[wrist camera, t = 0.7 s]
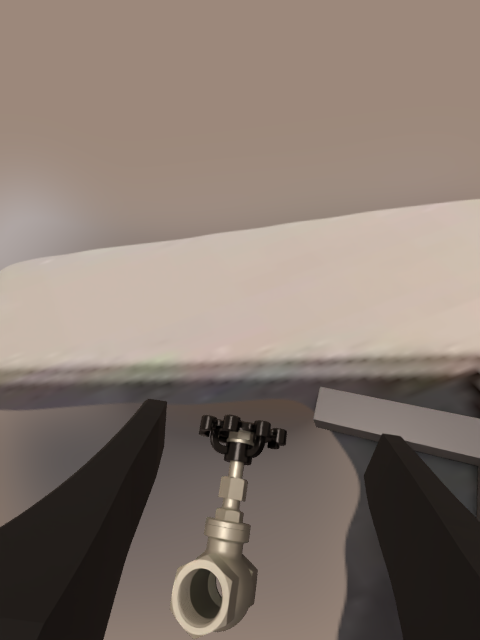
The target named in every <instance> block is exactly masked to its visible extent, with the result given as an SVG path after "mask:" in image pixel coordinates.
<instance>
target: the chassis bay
mask: <svg viewBox="0 0 480 640" xmlns="http://www.w3.org/2000/svg"><path fill="white" fill-rule="evenodd" d="M314 422H315V425H316V427H318V428H323V429H327V430H331V431H335V432H339V433H343V434H347V435H352V436H356V437H360V438H364V439H368V440H372V441H376V442H379V440H380V437H381V435H382V433H384V434H391V435H397V436H401V437H402V438H403V439H404V440H405V441H406V442H407V444H408V445H409V446H410V447H411V448H412V449H413V450H414V451H418V452H422V453H426V454H430V455H434V456H438V457H443V458H447V459H451V460H455V461H459V462H463V463H467V464H472V465H476V466H478V497H477V520H478V521H479V522H480V419H478V418H473V417H468V416H463V415H458V414H453V413H448V412H443V411H438V410H433V409H428V408H423V407H418V406H413V405H408V404H403V403H398V402H393V401H388V400H383V399H378V398H374V397H369V396H364V395H359V394H354V393H349V392H344V391H339V390H334V389H329V388H324V387H320V390H319V395H318V400H317V404H316V409H315V414H314Z"/></svg>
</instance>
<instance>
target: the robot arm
mask: <svg viewBox="0 0 480 640" xmlns="http://www.w3.org/2000/svg"><path fill="white" fill-rule="evenodd" d="M166 408H167V402H166V401H160V400H153V399H148V400H146V401H145V402H144V403H143V404H142V406H141V407H140V408H139V409H138V411H137V412H136V413H135V414H134V415H133V417H132V418H131V419H130V420H129V421H128V422H127V423H126V424H125V425H124V427H123V428H122V429H121V430H120V431H119V432H118V433H117V434H116V435H115V436H114V437H113V438H112V439H111V440H110V441H109V442H108V443H107V444H106V445H105V446H104V447H103V448H102V449H101V450H100V451H99V452H98V453H97V454H96V455H95V456H94V457H92V458H91V459H90V460H89V461H88V462H87V463H86V464H85V465H84V466H83V467H81V468H80V469H79V470H78V471H77V472H76V473H74V475H72V476H71V477H70V478H68V479H67V480H66V481H65V482H64V483H62V484H61V485H60V486H59V487H57V488H56V489H55V490H53V491H52V492H51V493H49V494H48V495H47V496H45V497H44V498H43V499H42V500H40V501H39V502H37V503H36V504H34V505H33V506H32V507H30V508H29V509H28V510H26V511H25V512H23V513H22V514H20V515H19V516H17V517H16V518H14V519H12V520H11V521H9V522H8V523H6V524H5V525H3V526H2V527H0V640H103V639H104V635H105V631H106V628H107V623H108V620H109V617H110V613H111V609H112V606H113V602H114V598H115V595H116V591H117V588H118V584H119V581H120V577H121V574H122V570H123V566H124V563H125V560H126V557H127V553H128V551H129V548H130V545H131V542H132V539H133V537H134V534H135V532H136V529H137V526H138V524H139V521H140V518H141V516H142V513H143V510H144V508H145V505H146V502H147V500H148V497H149V494H150V492H151V489H152V486H153V484H154V481H155V478H156V475H157V472H158V468H159V464H160V460H161V456H162V452H163V448H164V439H165V422H166ZM364 480H365V486H366V493H367V499H368V504H369V509H370V512H371V516H372V519H373V523H374V526H375V530H376V533H377V536H378V540H379V543H380V547H381V550H382V553H383V557H384V560H385V563H386V567H387V570H388V573H389V577H390V580H391V584H392V588H393V592H394V596H395V600H396V605H397V610H398V615H399V620H400V625H401V629H402V634H403V640H480V522H479V521H478V520H477V518H476V517H475V516H474V515H473V514H472V513H471V512H470V511H469V510H468V509H467V508H466V507H465V506H464V505H463V504H462V503H461V502H460V501H459V500H458V499H457V498H456V497H455V496H454V495H453V494H452V493H451V492H450V491H449V489H448V488H447V487H446V486H445V485H444V484H443V483H442V482H441V481H440V480H439V478H438V477H437V476H436V475H435V474H434V473H433V472H432V471H431V469H430V468H429V467H428V466H427V465H426V464H425V463H424V462H423V460H422V459H421V458H420V457H419V456H418V455H417V454H416V452H415V451H414V450H413V449H412V448H411V447H410V446H409V445H408V444H407V442H406V441H405V440H404V439H403V438H402V437H401V436H397V435H391V434H384V433H382V435H381V437H380V440H379V442H378V444H377V447H376V449H375V451H374V453H373V456H372V458H371V460H370V463H369V465H368V467H367V469H366V472H365V474H364Z"/></svg>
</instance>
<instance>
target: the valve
mask: <svg viewBox="0 0 480 640" xmlns="http://www.w3.org/2000/svg"><path fill="white" fill-rule="evenodd" d="M270 427H271V424H270V423H269V422H266V421H260V420H258V421H255V422H254V423H249V422H244V421H241V420H240V418H239V417H238V416H234V415H225V416H224V420H219V419H217V418H216V417H214V416H209V415H203V416H202V420H201V424H200V430H199V435H201V436H206V437H209V433H210V431H211V436H210V442H211V445H212V447H213V448H214V450H215V451H217V452H219V453H221V454H225V455H224V460H225V461H227V462H230V467H229V474H228V477H227V476H223V477H222V478H221V484H220V490H219V496H218V497H222V498H223V504H222V507H221V508H217V509H216V514H215V518H211V517H207V518H206V524H205V530H204V535H206V536H208V542H207V548H206V550H205V552H203V553H202V554H201V555H200V556H199V557H197V558H196V560H195V561H192V562H190V563H188V564H186V565H183V566H181V567H179V568H178V569H177V573H176V577H175V581H174V586H173V590H172V597H171V604H170V610H171V612H172V614H173V615H174V616H175V618H176V619H177V621H178V622H179V623H180V624H181V626H182V627H183V628H184V630H185V631H186V632H187V633H188V634H189V635H190V636H191V637H192V638H193V639H196V638H199V637H201V636H203V635H206V634H208V633H210V632H212V631H213V632H220V631H225V630H228V629H230V628H232V627H234V626H235V625H236V624H237V623H239V622H240V620H241V619H242V618H243V617H244V616H245V614H246V612H247V610H248V608H249V607H250V606H252V605H253V604H254V599H255V592H256V584H257V572H258V570H257V569H256V567H255V566H254V565H253V564H252V563H251V562H250V561H249V560H248V559H247V558H246V557H245V556H244V555H243V554H242V549H243V543H247V542H249V535H250V525H249V524H245V523H243V512H241V511H240V510H239V505H240V501H245V499H246V492H247V484H248V482H247V480H244V479H242V476H243V469H244V465H250V464H251V462H252V458H254V457H257V456H258V455H259V454H260V453H261V452H262V450H263V448H264V445H265V443H267V442H268V448H271V449H279V445H280V446H284V445H286V437H287V431H286V430H284V429H279V428H273V429H270ZM219 442H222V443H226V446H223V445H221V444H220V443H219ZM216 577H217V579H218V581H219V582H220V585H221V589H222V597H221V595H220V594H219V592H218V589H217V585H216Z"/></svg>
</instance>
